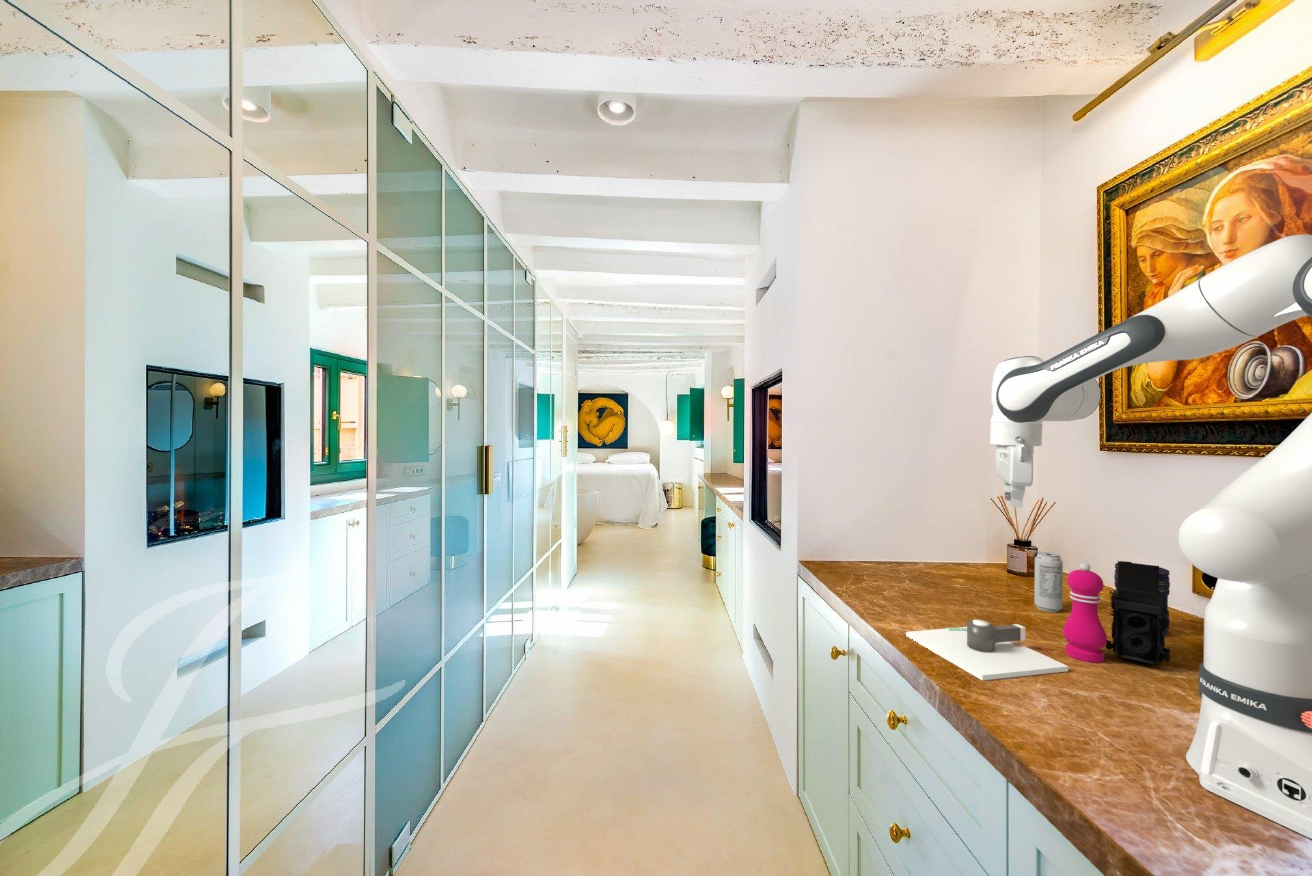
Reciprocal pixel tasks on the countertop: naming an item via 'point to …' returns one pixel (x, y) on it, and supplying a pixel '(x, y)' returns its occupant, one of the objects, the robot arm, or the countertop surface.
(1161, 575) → the storage jar
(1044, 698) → the countertop surface
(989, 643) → the dial
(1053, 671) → the tuner board
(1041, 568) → the energy drink can
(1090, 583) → the pepper mill
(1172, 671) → the countertop surface
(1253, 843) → the countertop surface
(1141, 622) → the camera
